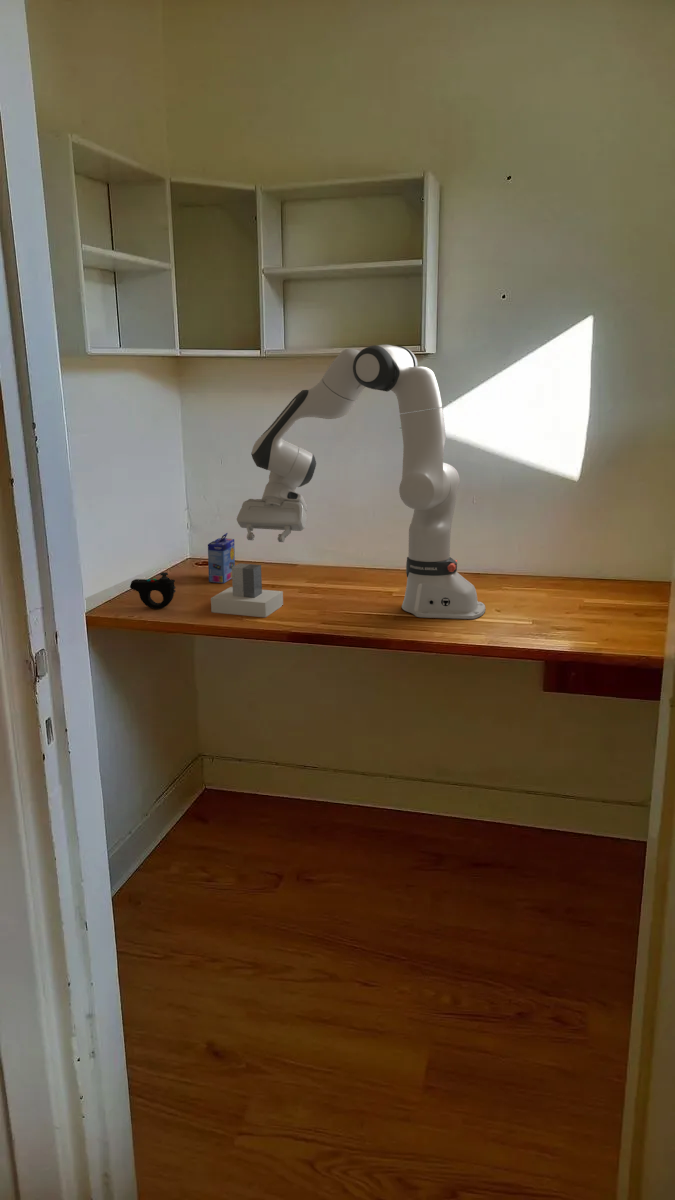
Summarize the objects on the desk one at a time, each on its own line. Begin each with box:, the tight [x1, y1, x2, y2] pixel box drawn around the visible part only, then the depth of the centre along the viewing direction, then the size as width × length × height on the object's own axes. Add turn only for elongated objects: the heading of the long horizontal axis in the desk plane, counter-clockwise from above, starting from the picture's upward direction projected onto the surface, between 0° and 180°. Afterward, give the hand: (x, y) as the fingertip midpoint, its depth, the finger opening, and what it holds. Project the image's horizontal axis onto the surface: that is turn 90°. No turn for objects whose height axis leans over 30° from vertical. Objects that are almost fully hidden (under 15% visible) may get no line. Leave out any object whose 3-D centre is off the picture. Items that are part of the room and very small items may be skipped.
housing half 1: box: [231, 562, 251, 597], centre depth 230 cm, size 3×5×8 cm, turn 161°
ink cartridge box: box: [207, 532, 236, 584], centre depth 261 cm, size 10×6×14 cm, turn 166°
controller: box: [129, 572, 177, 610], centre depth 232 cm, size 4×12×10 cm, turn 84°
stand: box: [210, 586, 284, 618], centre depth 231 cm, size 16×12×4 cm
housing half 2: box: [243, 563, 263, 598], centre depth 229 cm, size 3×5×8 cm, turn 161°
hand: (265, 540), depth 239 cm, fingers open, 8 cm apart
